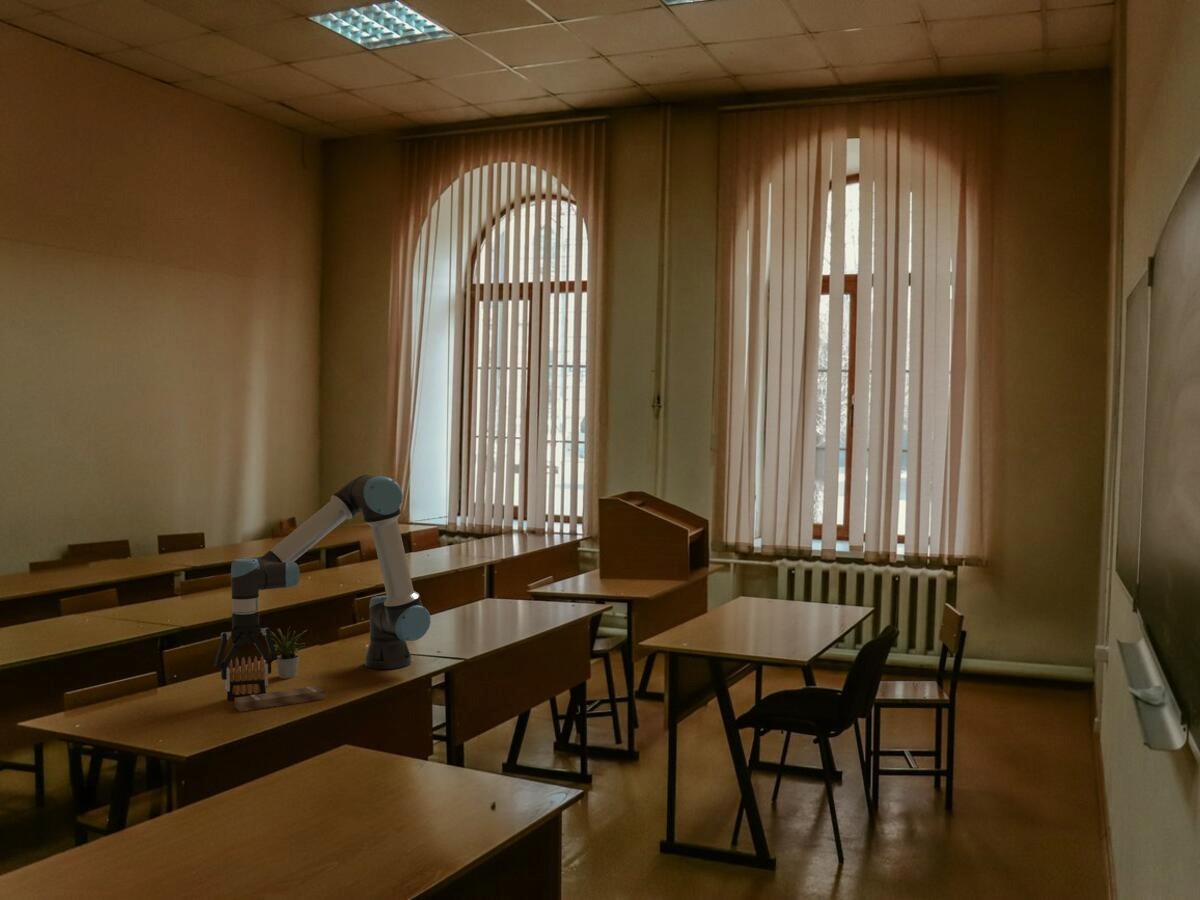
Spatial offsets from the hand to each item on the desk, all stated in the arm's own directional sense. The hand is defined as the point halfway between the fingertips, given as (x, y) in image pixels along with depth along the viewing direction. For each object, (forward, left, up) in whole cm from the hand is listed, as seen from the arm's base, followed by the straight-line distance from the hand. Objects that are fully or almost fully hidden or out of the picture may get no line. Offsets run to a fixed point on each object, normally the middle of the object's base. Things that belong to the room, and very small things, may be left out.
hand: (246, 687), depth 300 cm
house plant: (-16, -20, -3) cm, 26 cm away
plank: (-7, +10, -3) cm, 13 cm away
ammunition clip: (0, 0, -3) cm, 3 cm away
